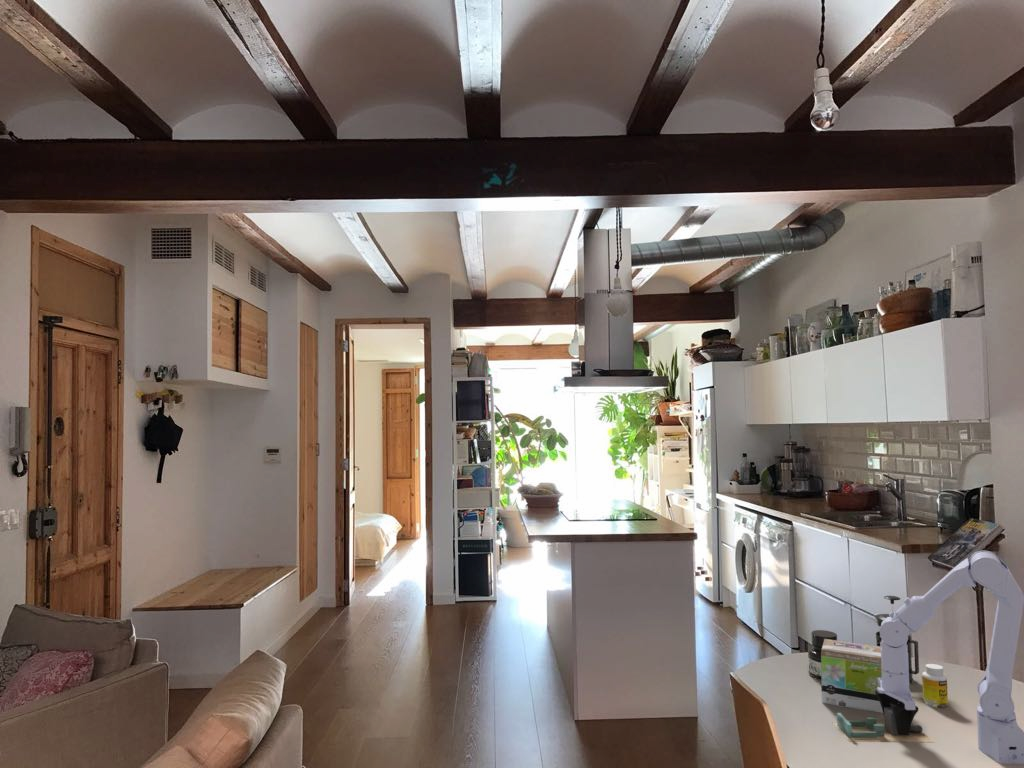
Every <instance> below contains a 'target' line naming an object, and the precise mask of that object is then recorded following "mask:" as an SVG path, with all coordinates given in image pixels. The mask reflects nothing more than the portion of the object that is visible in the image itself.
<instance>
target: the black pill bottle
mask: <svg viewBox="0 0 1024 768" xmlns="http://www.w3.org/2000/svg"><path fill="white" fill-rule="evenodd" d="M810 634H811V647H810V648H809V649H808V651H807V666H808V667H807V668H808V669H807V670H808V674H809V675H810V676H811V675H812V676H811V677H813V678H815V679H818V680H821V649H822V646H823V643H824V639H830V640H836V641H838V634H837V633H836V632H833V631H831V630H830V631H829V630H825V629H823V630H822V629H815V630H813V631H811V633H810Z"/></svg>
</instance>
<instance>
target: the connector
mask: <svg viewBox="0 0 1024 768" xmlns="http://www.w3.org/2000/svg"><path fill="white" fill-rule="evenodd" d="M883 717H884V723H885V729H886V730H887V731H888V732H889V733H890V734H891V735H894V736H910V735H899V734H898V732H897V727H896V720H895V716H894V713H893V710H892V708H891V707H884V714H883ZM923 730H924V729H923V727H922V726H921V725H919V724H914V725H911V727H910V731H909V733H921V732H923Z"/></svg>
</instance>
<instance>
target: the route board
mask: <svg viewBox="0 0 1024 768" xmlns="http://www.w3.org/2000/svg"><path fill="white" fill-rule="evenodd" d="M832 724H833V725H834V726H835V728H837V730H838V731H839V732H840V734H842V735H843V736H844V738H845V739H846V740H847V741H848V742H849V743H850V742H856V743H857V742H861V743H862V742H863V743H867V742H868V743H870V742H871V743H875V742H876V743H935V741H934V740H933V739H931V738H930V737H929V736H928V735H927V734H926V733H924V732H923V731H922V732H921V733H909V735H910V736H894V735H891V734H890V733H889V732H888V731H887V730H886V729H885V722H877V718H876V717H874V716H867V717H865V720H848V719H846V717H845V716H844V715H843V714H842V712H836V721H834V722H832ZM911 725H915V724H914V723H913V722H912V723H911Z"/></svg>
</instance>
